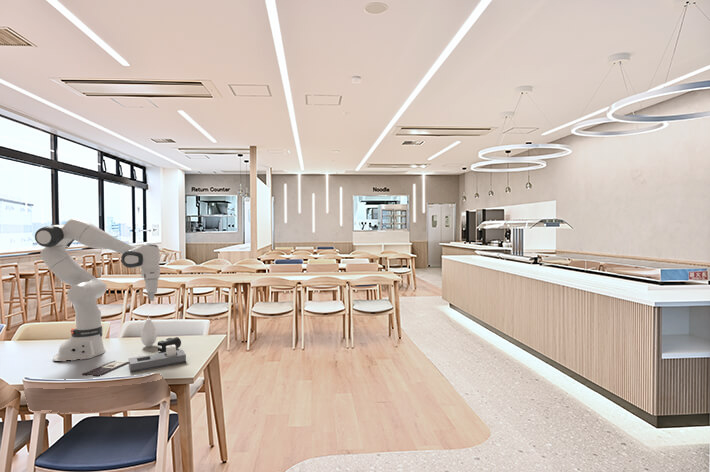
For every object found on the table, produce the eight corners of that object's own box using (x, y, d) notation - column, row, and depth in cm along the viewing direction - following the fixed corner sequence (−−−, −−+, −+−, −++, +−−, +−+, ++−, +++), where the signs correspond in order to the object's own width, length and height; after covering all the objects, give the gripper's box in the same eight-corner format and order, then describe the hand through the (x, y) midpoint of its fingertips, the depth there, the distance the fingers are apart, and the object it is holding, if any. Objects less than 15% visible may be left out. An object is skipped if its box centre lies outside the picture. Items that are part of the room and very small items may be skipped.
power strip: (130, 372, 182) (130, 364, 182) (128, 366, 190) (128, 358, 190) (186, 362, 195) (185, 354, 195) (182, 357, 204) (182, 349, 203)
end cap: (167, 355, 207) (167, 342, 207) (156, 354, 209) (156, 341, 209) (181, 349, 217) (181, 337, 217) (171, 348, 219) (170, 336, 219)
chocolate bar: (82, 373, 180) (114, 360, 197) (82, 375, 180) (114, 362, 197) (98, 375, 178) (129, 361, 195) (98, 377, 178) (129, 363, 195)
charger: (167, 362, 193) (167, 347, 193) (166, 359, 197) (165, 345, 196) (176, 360, 195) (175, 346, 195) (174, 358, 199) (174, 344, 199)
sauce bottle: (138, 347, 220) (137, 315, 219) (148, 343, 227) (147, 312, 227) (149, 348, 218) (149, 316, 218) (160, 344, 226) (159, 313, 225)
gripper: (142, 272, 218) (142, 297, 219) (146, 276, 201) (146, 303, 201) (154, 271, 222) (154, 296, 222) (159, 275, 205) (159, 302, 205)
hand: (150, 299), depth 212 cm, fingers open, 8 cm apart
